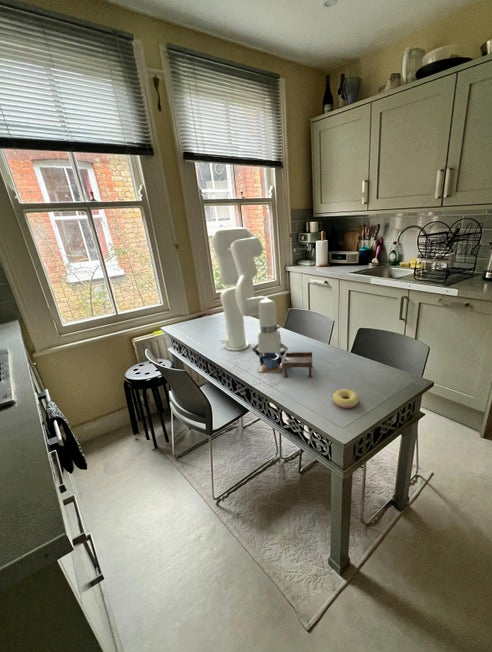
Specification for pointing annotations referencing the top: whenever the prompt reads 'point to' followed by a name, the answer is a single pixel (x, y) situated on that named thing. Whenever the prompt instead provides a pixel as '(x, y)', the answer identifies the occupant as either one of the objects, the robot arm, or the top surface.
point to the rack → (298, 361)
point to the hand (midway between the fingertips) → (271, 363)
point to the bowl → (270, 361)
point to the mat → (277, 370)
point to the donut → (345, 402)
